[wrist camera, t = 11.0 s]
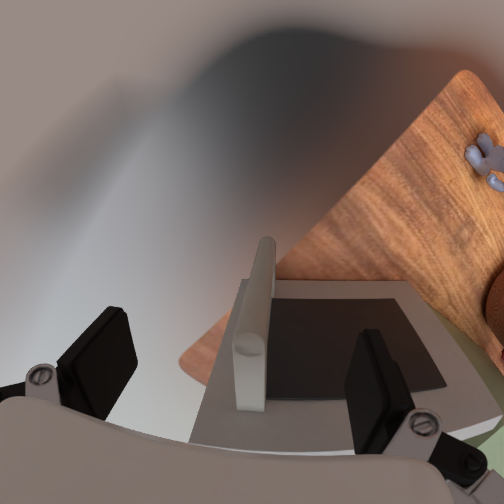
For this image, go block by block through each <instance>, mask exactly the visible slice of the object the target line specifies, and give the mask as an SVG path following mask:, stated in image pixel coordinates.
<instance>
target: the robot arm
mask: <svg viewBox="0 0 504 504" xmlns="http://www.w3.org/2000/svg"><path fill="white" fill-rule="evenodd" d="M57 365H58V366H57V367H56V368H54V366H52V365H50V364H39V365H36V366H34V367H32V368H31V369H30V370H29V371H28V373H27V375H26V381H25V382H22V383H18V384H13V385H9V386H5V387H0V504H504V478H503V477H502V476H501V475H500V474H498V473H497V472H496V471H495V470H494V469H492V470H491V471H490V470H489V469H488V468H487V467H488V461H487V458H486V456H485V454H484V453H483V452H482V451H481V450H479V449H477V448H475V447H473V446H471V445H469V444H467V443H465V442H463V441H461V440H459V439H457V438H455V437H453V436H451V435H449V434H447V433H445V432H443V431H442V429H443V422H442V420H441V418H440V416H439V415H438V414H437V413H436V412H434V411H432V410H430V409H427V408H417V409H416V407H415V404H414V401H413V399H412V396H411V394H410V391H409V389H408V386H407V384H406V381H405V379H404V376H403V374H402V372H401V369H400V367H399V365H398V363H397V361H393V360H392V358H391V355H390V353H389V350H388V348H387V346H386V344H385V341H384V339H383V337H382V334H381V332H380V330H379V329H364V330H363V332H359V334H358V337H357V341H356V345H355V348H354V352H353V355H352V359H351V362H350V366H349V369H348V372H347V376H346V379H345V383H344V391H345V397H346V402H347V408H348V414H349V420H350V426H351V432H352V438H353V445H354V452H355V455H332V456H307V455H276V454H262V453H250V452H241V451H233V450H225V449H218V448H211V447H205V446H199V445H194V444H189V443H184V442H179V441H174V440H170V439H165V438H161V437H157V436H153V435H149V434H145V433H142V432H138V431H134V430H131V429H127V428H124V427H121V426H118V425H115V424H112V423H109V422H105V420H106V418H107V417H108V415H109V413H110V411H111V410H112V408H113V406H114V404H115V403H116V401H117V399H118V398H119V396H120V395H121V393H122V391H123V390H124V388H125V386H126V385H127V383H128V381H129V380H130V378H131V376H132V375H133V373H134V371H135V370H136V368H137V365H138V360H137V356H136V352H135V348H134V344H133V340H132V336H131V332H130V327H129V322H128V317H127V314H126V313H125V312H124V310H123V309H122V308H119V307H113V306H109V307H107V308H106V309H105V310H104V311H103V313H101V315H100V316H99V317H98V318H97V319H96V320H95V321H94V322H93V323H92V324H91V325H90V326H89V327H88V328H87V329H86V330H85V331H84V332H83V333H82V334H81V335H80V337H79V338H78V339H77V340H76V341H75V342H74V343H73V344H72V345H71V346H70V347H69V348H68V349H67V351H66V352H65V353H64V354H63V355H62V356H61V357H60V358H59V359H58V361H57Z"/></svg>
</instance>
